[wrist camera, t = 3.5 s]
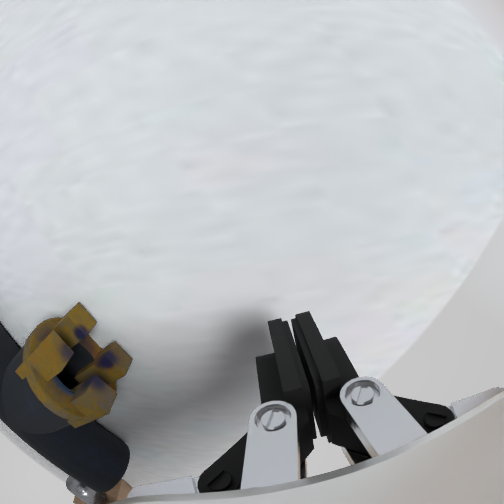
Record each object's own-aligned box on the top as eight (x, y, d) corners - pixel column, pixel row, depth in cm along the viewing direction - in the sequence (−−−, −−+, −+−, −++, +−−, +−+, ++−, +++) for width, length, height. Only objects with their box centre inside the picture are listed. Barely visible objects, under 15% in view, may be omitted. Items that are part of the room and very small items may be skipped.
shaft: (65, 457, 17) (53, 487, 14) (104, 462, 17) (94, 497, 14) (93, 482, 19) (85, 510, 15) (132, 487, 19) (126, 519, 15)
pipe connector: (-46, 244, 6) (194, 481, 11) (25, 214, 11) (201, 409, 16) (-70, 347, 8) (84, 495, 12) (-30, 312, 13) (101, 446, 17)
